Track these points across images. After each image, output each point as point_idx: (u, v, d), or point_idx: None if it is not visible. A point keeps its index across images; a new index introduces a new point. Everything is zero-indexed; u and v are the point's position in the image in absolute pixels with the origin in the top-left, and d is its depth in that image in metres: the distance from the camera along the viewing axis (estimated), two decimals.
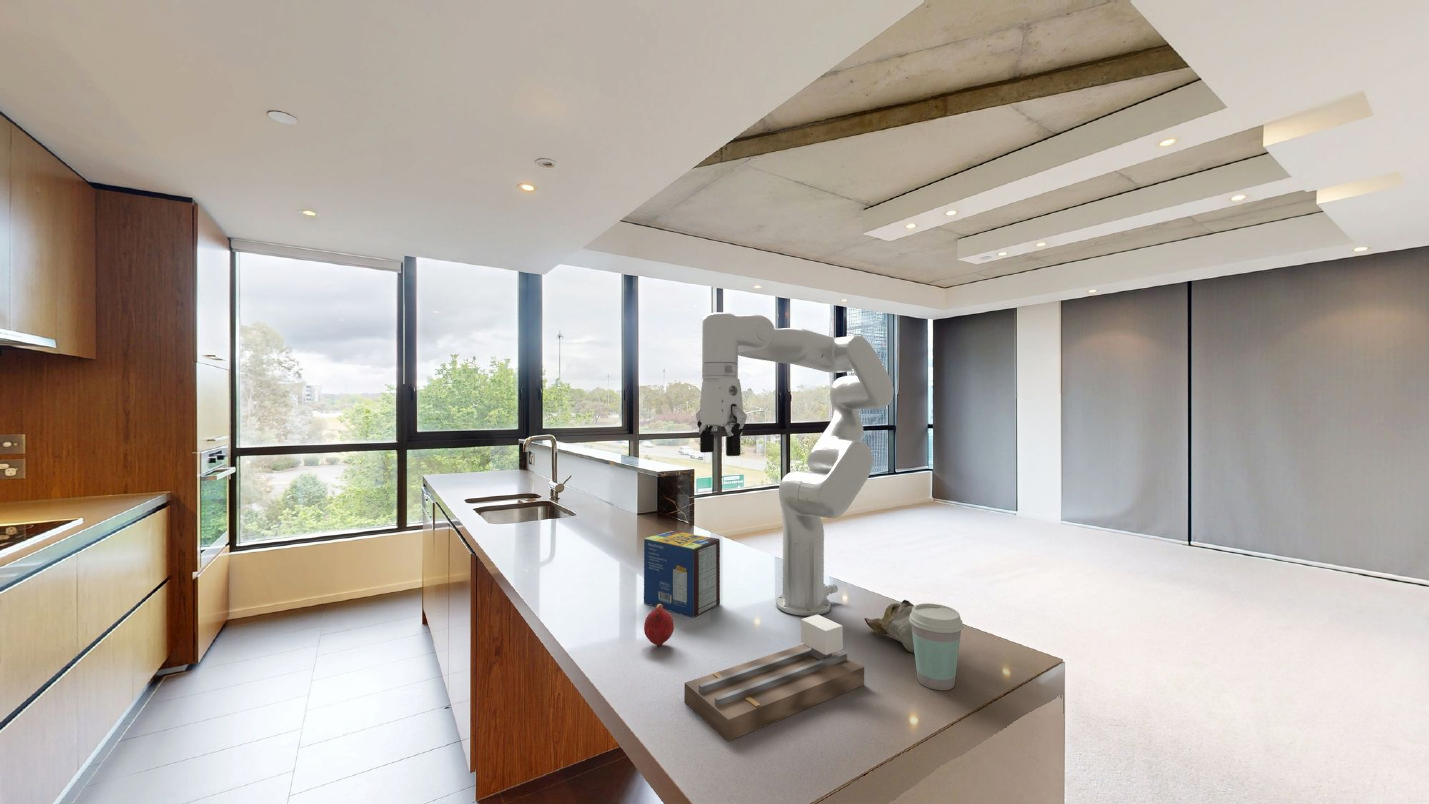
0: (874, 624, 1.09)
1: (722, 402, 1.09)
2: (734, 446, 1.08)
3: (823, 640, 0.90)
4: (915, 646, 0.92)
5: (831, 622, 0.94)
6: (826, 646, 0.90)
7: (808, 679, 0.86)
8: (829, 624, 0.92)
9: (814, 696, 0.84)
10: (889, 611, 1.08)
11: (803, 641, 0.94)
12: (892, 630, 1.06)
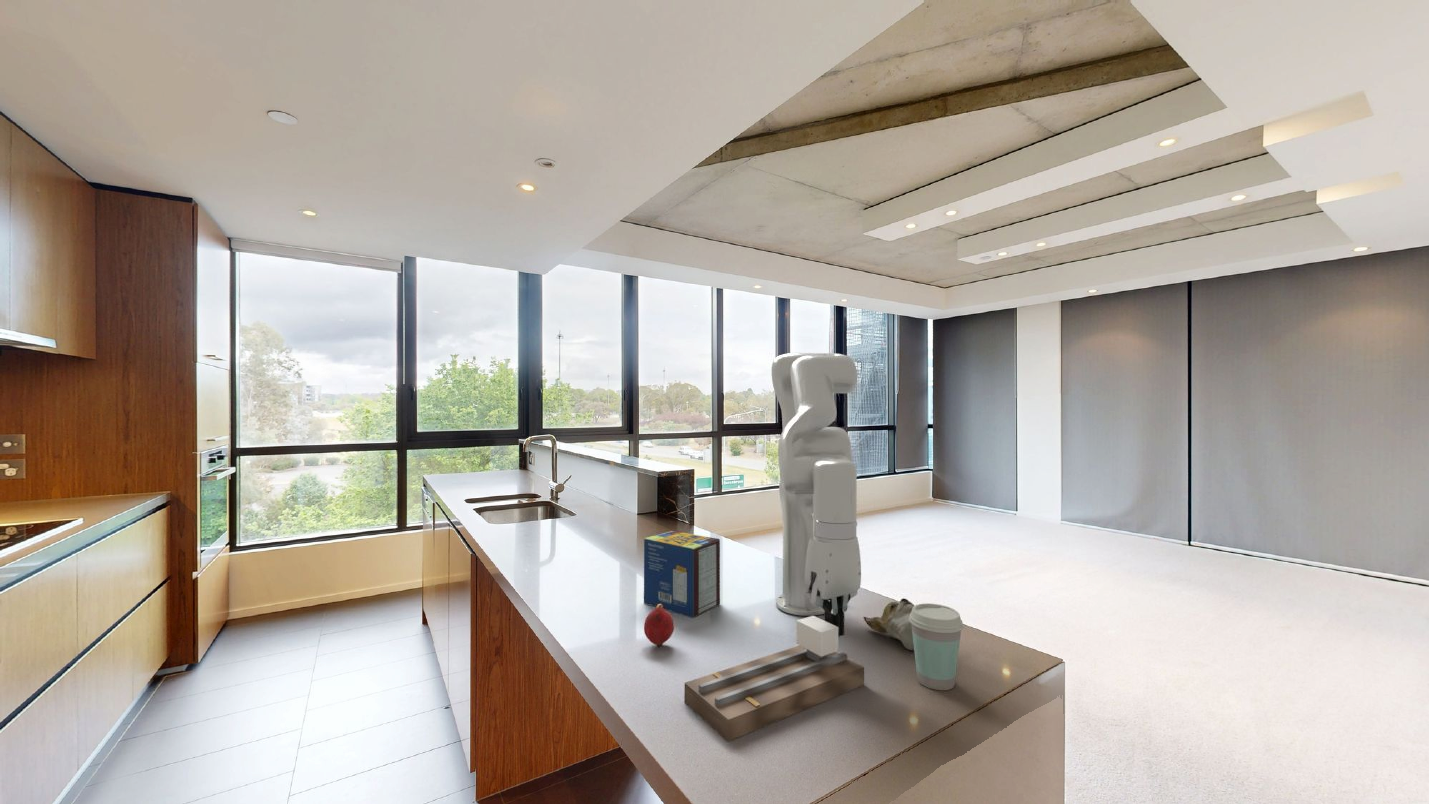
0: (873, 623, 1.10)
1: (859, 564, 0.96)
2: None
3: (818, 641, 0.90)
4: (915, 646, 0.92)
5: (826, 623, 0.93)
6: (821, 648, 0.89)
7: (808, 679, 0.86)
8: (824, 626, 0.92)
9: (814, 696, 0.84)
10: (888, 610, 1.09)
11: (799, 642, 0.94)
12: (891, 628, 1.06)
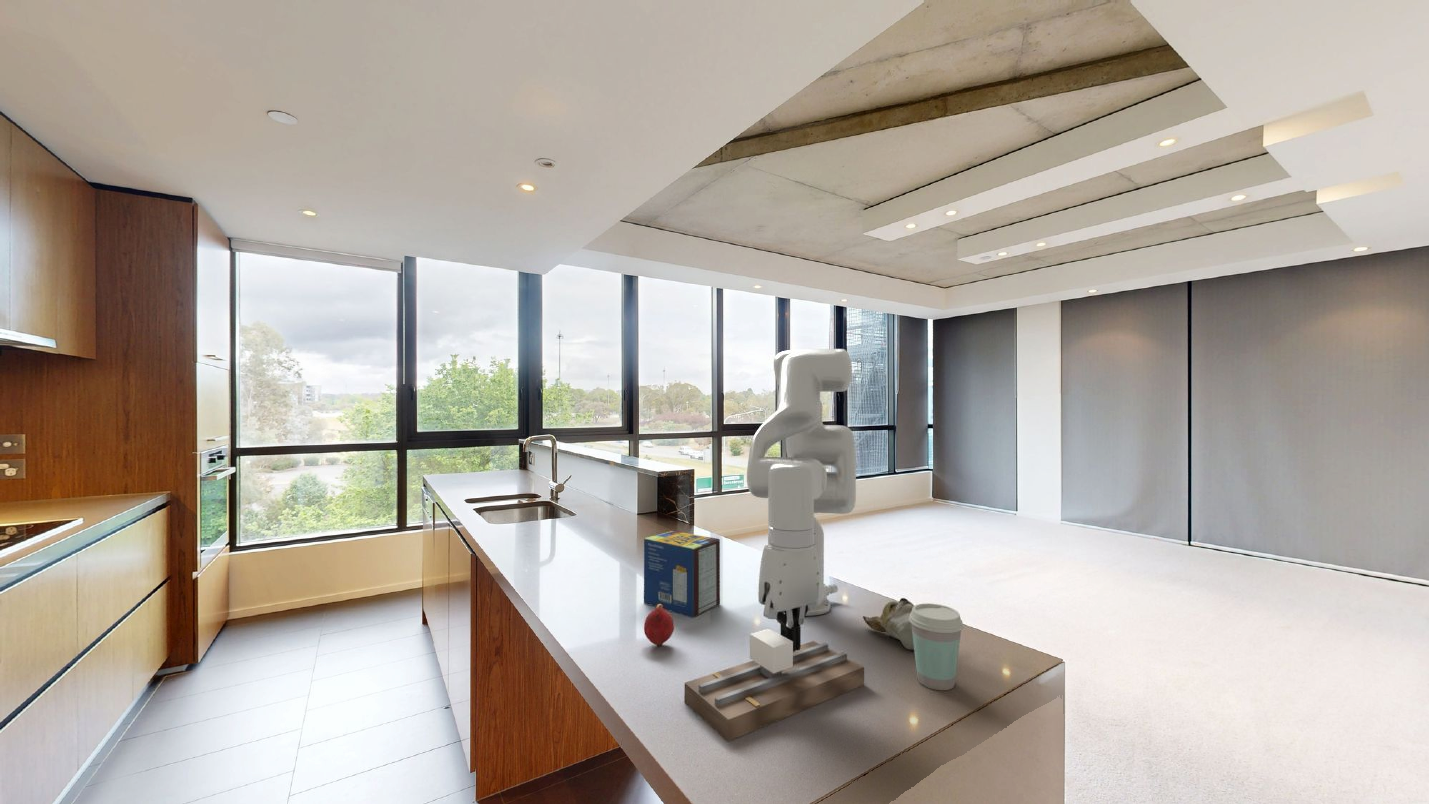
0: (873, 622, 1.10)
1: (817, 574, 0.90)
2: None
3: (771, 657, 0.84)
4: (915, 646, 0.92)
5: (781, 637, 0.87)
6: (773, 664, 0.84)
7: (808, 679, 0.86)
8: (778, 640, 0.86)
9: (814, 696, 0.84)
10: (887, 609, 1.09)
11: (752, 657, 0.88)
12: (891, 628, 1.07)
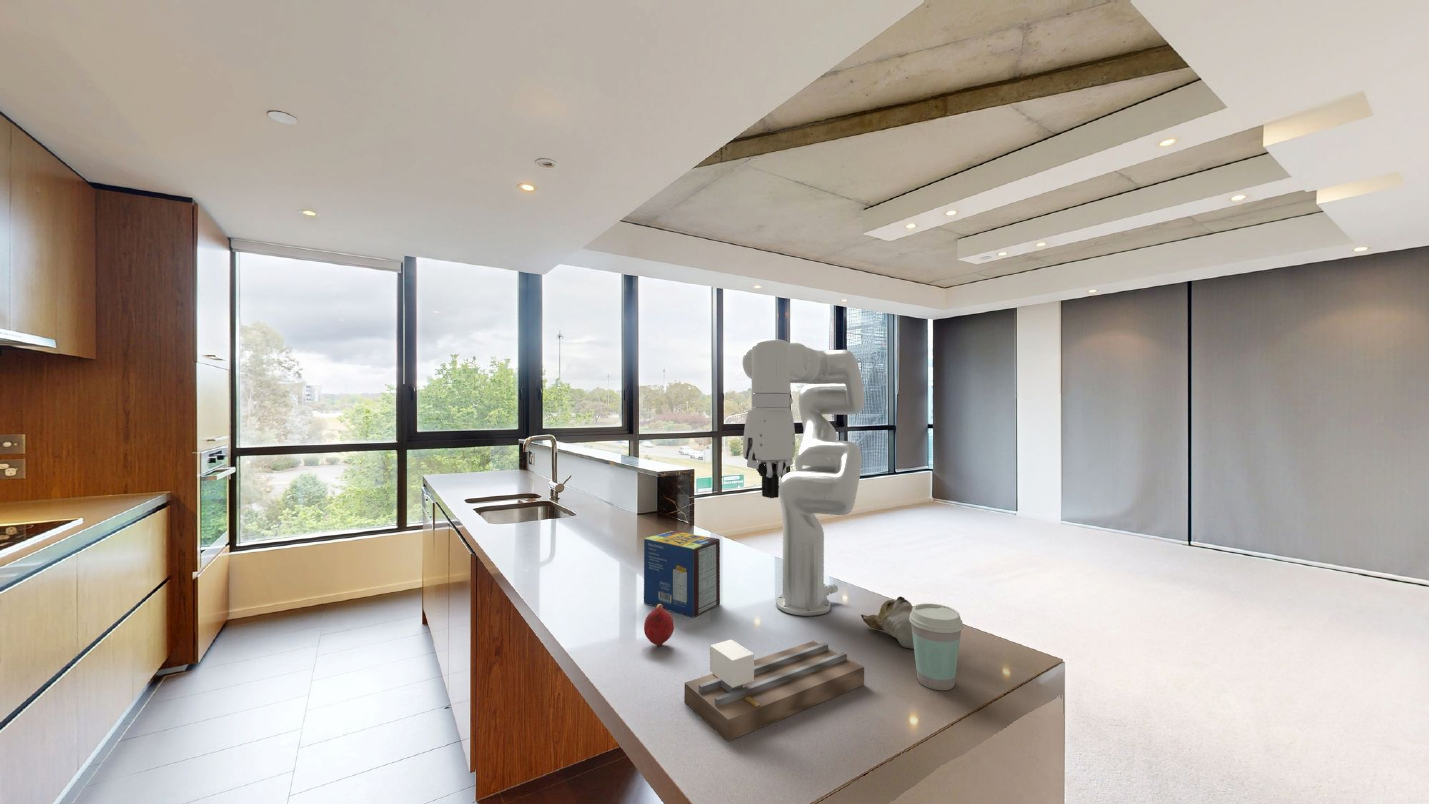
0: (870, 620, 1.11)
1: (793, 435, 1.06)
2: None
3: (730, 670, 0.80)
4: (915, 646, 0.92)
5: (742, 649, 0.83)
6: (732, 678, 0.79)
7: (808, 679, 0.86)
8: (739, 652, 0.82)
9: (814, 696, 0.84)
10: (884, 607, 1.10)
11: (712, 670, 0.84)
12: (888, 626, 1.08)
